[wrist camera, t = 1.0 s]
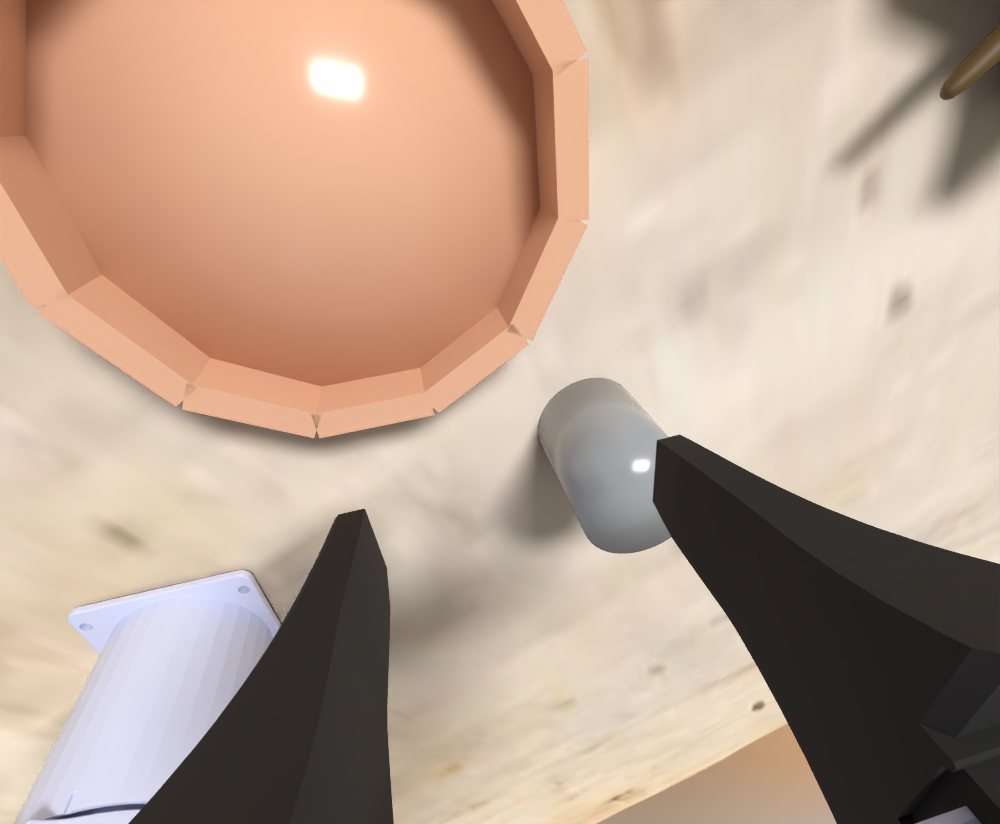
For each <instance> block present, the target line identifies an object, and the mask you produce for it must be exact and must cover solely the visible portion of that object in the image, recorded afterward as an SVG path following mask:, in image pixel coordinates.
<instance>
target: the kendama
mask: <svg viewBox="0 0 1000 824" xmlns="http://www.w3.org/2000/svg"><path fill="white" fill-rule="evenodd" d="M999 61H1000V23H999V24H998V25H997V26H996V27H995V28H994V29H993V30H992V32H991V33H990V34H989V35H988V36H987V37H986V38H985V39H984V40H983V41H982V42H981V43H980V44H979V45H978V46H977V47H976V48H975V49H974V50H973V51H972V52H971V53H970V55H969V56H968V57H967V58H966V59H965V60H964V61H963V62H962V63H961V64H960V65H959V66H958V68H957V69H956V70H955V71H954V72H953V73H952V75H951V76H950V77H949V78H948V79H947V81H946V82H945V83H944V85H943V86H942V88H941V91H940V97H941V98H942V99H943V100H948V99H951V98H954V97H955V96H957V95H958V94H960V93H961V92H963V91H964V90H965V89H967V88H968V87H969V86H970V85H972V84H973V83H974V82H976V81H977V80H978V79H979V78H980V77H981V76H983V75H984V74H985V73H986V72H987V71H988V70H990V69H991V68H992V67H993V66H994V65H995V64H997V63H998V62H999Z"/></svg>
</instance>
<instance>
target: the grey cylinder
mask: <svg viewBox="0 0 1000 824" xmlns="http://www.w3.org/2000/svg"><path fill="white" fill-rule="evenodd" d="M538 435H539V440H540V443H541V445H542V447H543V449H544V451H545V453H546V455H547V457H548V459H549V461H550V463H551V465H552V467H553V469H554V471H555V473H556V475H557V477H558V479H559V481H560V484H561V486H562V488H563V490H564V492H565V494H566V496H567V498H568V500H569V502H570V504H571V506H572V508H573V510H574V512H575V514H576V516H577V518H578V520H579V522H580V524H581V526H582V528H583V530H584V532H585V534H586V536H587V538H588V539H589V540H590V542H591V543H592V544H594V545H595V546H596V547H598V548H600V549H602V550H604V551H607V552H611V553H634V552H639V551H643V550H646V549H649V548H652V547H654V546H656V545H658V544H661V543H662V542H664V541H666V540H668V539H669V538H671V535H670V533H669V532H668V530H667V528H666V526H665V524H664V523H663V521H662V519H661V517H660V515H659V513H658V511H657V509H656V507H655V505H654V503H653V487H654V473H655V458H656V444H657V440H660V439H664V438H668V436H667V435H666V434H665V433H664V432H663V430H662V429H661V428H660V427H659V426H658V425H657V424H656V423H655V422H654V420H653V419H652V418H651V417H650V416H649V415H648V414H647V413H646V411H645V410H644V409H643V408H642V407H641V406H640V405H639V404H638V403H637V401H636V400H635V399H634V398H633V397H632V396H631V395H630V394H629V393H628V391H627V390H626V389H625V388H624V387H623V386H621V385H620V384H618V383H617V382H614V381H612V380H609V379H604V378H590V379H584V380H581V381H578V382H575V383H573V384H571V385H569V386H567V387H565V388H564V389H562V390H561V391H560V392H558V393H557V394H556V395H555V396H554V397H553V398H552V399H551V400H550V401H549V403H548V404H547V405H546V407H545V409H544V410H543V412H542V415H541V417H540V421H539V426H538Z"/></svg>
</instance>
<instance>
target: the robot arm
mask: <svg viewBox="0 0 1000 824" xmlns="http://www.w3.org/2000/svg"><path fill="white" fill-rule="evenodd" d="M653 503H654V505H655V507H656V509H657V511H658V513H659V515H660V517H661V519H662V521H663V523H664V524H665V526H666V528H667V530H668V532H669V533H670V535H671V537H672V538H673V540H674V541H675V543H676V544H677V546H678V547H679V548H680V550H681V551H682V553H683V554H684V556H685V557H686V558H687V560H688V561H689V563H690V564H691V566H692V567H693V568H694V570H695V571H696V573H697V574H698V575H699V577H700V578H701V580H702V581H703V582H704V584H705V585H706V587H707V588H708V589H709V591H710V592H711V594H712V595H713V596H714V598H715V599H716V601H717V602H718V603H719V605H720V606H721V608H722V609H723V610H724V612H725V613H726V615H727V616H728V618H729V619H730V621H731V622H732V624H733V625H734V627H735V629H736V630H737V632H738V634H739V635H740V637H741V639H742V641H743V642H744V644H745V646H746V647H747V649H748V651H749V653H750V654H751V656H752V658H753V660H754V661H755V663H756V665H757V667H758V668H759V670H760V672H761V674H762V676H763V677H764V679H765V681H766V683H767V685H768V687H769V688H770V690H771V692H772V694H773V696H774V698H775V699H776V701H777V703H778V705H779V707H780V709H781V711H782V712H783V714H784V716H785V718H786V720H787V722H788V724H789V726H790V728H791V730H792V732H793V734H794V736H795V738H796V740H797V742H798V744H799V746H800V748H801V749H802V752H803V753H804V755H805V757H806V759H807V761H808V764H809V766H810V768H811V770H812V772H813V774H814V776H815V778H816V780H817V782H818V784H819V786H820V788H821V791H822V793H823V795H824V797H825V799H826V801H827V803H828V805H829V807H830V809H831V812H832V814H833V816H834V818H835V820H836V822H837V824H1000V564H998V563H994V562H990V561H986V560H982V559H978V558H975V557H971V556H967V555H963V554H960V553H956V552H952V551H949V550H945V549H942V548H938V547H935V546H932V545H928V544H925V543H922V542H918V541H915V540H912V539H909V538H906V537H903V536H900V535H897V534H894V533H891V532H888V531H885V530H882V529H879V528H876V527H874V526H871V525H868V524H865V523H862V522H860V521H857V520H855V519H852V518H850V517H847V516H845V515H842V514H839V513H837V512H834V511H832V510H829V509H827V508H824V507H822V506H820V505H817V504H815V503H813V502H811V501H808V500H806V499H804V498H802V497H800V496H798V495H795V494H793V493H791V492H789V491H787V490H785V489H782V488H780V487H778V486H776V485H774V484H772V483H770V482H768V481H766V480H764V479H762V478H760V477H758V476H756V475H754V474H753V473H751V472H749V471H747V470H745V469H743V468H741V467H739V466H737V465H736V464H734V463H732V462H730V461H728V460H726V459H724V458H723V457H721V456H719V455H717V454H715V453H713V452H712V451H710V450H708V449H706V448H704V447H702V446H701V445H699V444H697V443H695V442H693V441H691V440H689V439H687V438H685V437H683V436H681V435H677V436H672V437H668V438H664V439H660V440H657V444H656V458H655V473H654V487H653ZM243 586H246V587H243ZM67 620H68V622H69V623H70V624H71V625H72V626H73V627H74V629H75V630H76V631H77V632H78V633H79V634H80V635H81V636H82V637H83V638H84V639H85V640H86V641H87V642H88V643H89V644H90V645H91V646H92V647H93V648H94V649H95V650H96V651H97V652H98V654H99V655H100V656H99V658H98V660H97V662H96V663H95V665H94V667H93V669H92V671H91V673H90V675H89V677H88V679H87V681H86V683H85V685H84V687H83V689H82V691H81V693H80V695H79V697H78V699H77V701H76V703H75V705H74V707H73V709H72V711H71V713H70V715H69V716H68V718H67V720H66V722H65V724H64V726H63V728H62V730H61V732H60V734H59V736H58V738H57V740H56V742H55V744H54V746H53V748H52V750H51V752H50V754H49V756H48V758H47V760H46V762H45V764H44V766H43V768H42V769H41V771H40V773H39V775H38V777H37V779H36V781H35V783H34V785H33V787H32V789H31V791H30V793H29V795H28V797H27V799H26V801H25V803H24V805H23V807H22V809H21V811H20V813H19V815H18V817H17V819H16V821H15V822H14V824H394V823H393V809H392V795H391V781H390V765H389V749H388V732H387V697H388V666H389V635H390V600H389V588H388V577H387V567H386V565H385V562H384V559H383V556H382V554H381V551H380V548H379V546H378V543H377V540H376V538H375V535H374V532H373V529H372V527H371V524H370V521H369V519H368V516H367V513H366V511H365V509H361V510H357V511H352V512H348V513H344V514H340V515H338V516H337V517H336V519H335V520H334V522H333V525H332V527H331V529H330V531H329V534H328V536H327V538H326V540H325V543H324V545H323V547H322V549H321V551H320V553H319V555H318V557H317V559H316V561H315V564H314V566H313V568H312V570H311V571H310V573H309V575H308V577H307V579H306V581H305V583H304V585H303V587H302V589H301V591H300V593H299V595H298V596H297V598H296V600H295V602H294V604H293V605H292V607H291V609H290V611H289V612H288V614H287V616H286V617H285V619H284V621H283V623H282V624H280V622H279V620H278V619H277V617H276V615H275V613H274V612H273V610H272V608H271V607H270V605H269V603H268V601H267V600H266V598H265V596H264V594H263V593H262V591H261V589H260V587H259V586H258V584H257V582H256V580H255V579H254V577H253V575H252V574H251V573H250V572H248V571H245V570H238V571H233V572H229V573H225V574H220V575H216V576H212V577H207V578H203V579H198V580H194V581H190V582H185V583H181V584H177V585H172V586H168V587H164V588H159V589H155V590H151V591H146V592H142V593H138V594H133V595H129V596H125V597H120V598H116V599H112V600H107V601H103V602H98V603H94V604H90V605H85V606H81V607H77V608H74V609H73V610H72V611H71V612H70V614H69V615H68V618H67Z"/></svg>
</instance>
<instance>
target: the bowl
mask: <svg viewBox="0 0 1000 824" xmlns="http://www.w3.org/2000/svg"><path fill="white" fill-rule="evenodd" d="M585 52H586V49H585V47H584V44H583V42H582V40H581V38H580V36H579V34H578V32H577V30H576V28H575V25H574V23H573V21H572V19H571V17H570V15H569V13H568V11H567V9H566V6H565V4H564V2H563V0H0V259H1V261H2V262H3V264H4V265H5V267H6V268H7V270H8V271H9V273H10V275H11V276H12V278H13V279H14V281H15V282H16V284H17V285H18V287H19V288H20V290H21V291H22V293H23V295H24V296H25V298H26V299H27V301H28V302H29V304H30V305H31V307H37V306H44V305H45V306H44V307H43V308H42V309H41V310H40V311H39V312H38V314H40V315H41V316H43V317H44V318H46V319H47V320H49V321H50V322H51V323H53V324H54V325H56V326H57V327H59V328H60V329H62V330H63V331H65V332H66V333H68V334H69V335H71V336H72V337H74V338H75V339H76V340H78V341H79V342H81V343H82V344H84V345H85V346H87V347H88V348H90V349H91V350H93V351H94V352H96V353H97V354H99V355H100V356H101V357H103V358H104V359H106V360H107V361H109V362H110V363H112V364H113V365H115V366H116V367H118V368H119V369H121V370H122V371H124V372H125V373H126V374H128V375H129V376H131V377H132V378H134V379H135V380H137V381H138V382H140V383H141V384H143V385H144V386H146V387H147V388H149V389H150V390H151V391H153V392H154V393H156V394H157V395H159V396H160V397H162V398H163V399H165V400H166V401H168V402H169V403H171V404H172V405H174V406H175V407H176V406H178V405H179V404H180V403H181V402H182V401H183V405H182V410H186V411H191V412H195V413H200V414H204V415H209V416H214V417H218V418H223V419H227V420H232V421H237V422H241V423H246V424H250V425H255V426H260V427H264V428H269V429H273V430H278V431H283V432H287V433H292V434H296V435H301V436H306V437H310V438H314V437H315V434H316V431H317V433H318V435H319V438H324V437H329V436H334V435H339V434H344V433H349V432H354V431H359V430H364V429H369V428H374V427H379V426H384V425H389V424H394V423H399V422H403V421H408V420H413V419H418V418H423V417H428V416H433V415H434V411H433V408H434V409H435V410H436V411H437V412H438V413H440V412H441V411H442V410H444V409H445V408H446V407H448V406H449V405H450V404H452V403H453V402H454V401H455V400H457V399H458V398H459V397H461V396H462V395H463V394H465V393H466V392H467V391H469V390H470V389H471V388H472V387H474V386H475V385H476V384H478V383H479V382H480V381H482V380H483V379H484V378H486V377H487V376H488V375H489V374H491V373H492V372H493V371H495V370H496V369H497V368H499V367H500V366H501V365H503V364H504V363H505V362H506V361H508V360H509V359H510V358H512V357H513V356H514V355H516V354H517V353H518V352H520V351H521V350H522V349H523V348H525V347H526V346H527V345H529V343H528V342H527V340H526V339H525V338H527V339H530V340H533V338H534V336H535V334H536V332H537V329H538V327H539V325H540V323H541V321H542V319H543V317H544V315H545V313H546V311H547V309H548V307H549V304H550V302H551V300H552V298H553V296H554V294H555V292H556V290H557V288H558V286H559V284H560V282H561V280H562V277H563V275H564V273H565V271H566V269H567V267H568V265H569V263H570V261H571V259H572V257H573V255H574V252H575V250H576V248H577V246H578V244H579V242H580V240H581V238H582V236H583V234H584V232H585V230H586V228H587V225H586V224H584V223H582V222H580V221H581V220H588V219H589V104H588V59H582V60H577V59H578V58H579V57H580V56H581V55H583V54H584V53H585Z"/></svg>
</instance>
